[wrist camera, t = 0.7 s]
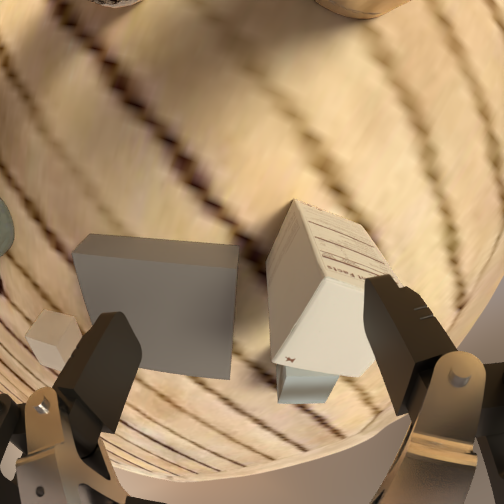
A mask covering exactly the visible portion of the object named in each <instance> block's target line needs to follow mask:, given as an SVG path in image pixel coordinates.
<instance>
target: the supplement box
mask: <svg viewBox="0 0 504 504" xmlns="http://www.w3.org/2000/svg"><path fill="white" fill-rule="evenodd" d="M265 263H266V277H267V293H268V311H269V329H270V349H271V362H272V363H276V364H280V365H284V366H289V367H293V368H299V369H304V370H310V371H316V372H323V373H329V374H335V375H343V376H349V377H360V376H361V375H362V374H363V373H364V372H365V371H366V370H367V369H368V368H369V367H370V366H371V364H372V363H373V362H374V361H375V360H376V359H375V356H374V354H373V351H372V349H371V346H370V344H369V341H368V339H367V336H366V334H365V330H364V323H363V310H364V284H365V279H366V278H369V277H374V276H379V275H385V274H390V275H391V276H392V278H393V279H394V281H395V282H396V283H397V285H398V286H399V288H401V287H404V286H403V285H402V283H401V282H400V280H399V279H398V277H397V276H396V274H395V273H394V271H393V270H392V268H391V267H390V265H389V264H388V262H387V261H386V259H385V258H384V256H383V255H382V253H381V252H380V250H379V249H378V248H377V246H376V245H375V243H374V242H373V240H372V239H371V238H370V236H369V235H368V233H367V232H366V231H365V229H364V228H363V227H362V225H360V224H357V223H355V222H353V221H350V220H348V219H345V218H343V217H340V216H338V215H335V214H333V213H331V212H328V211H326V210H323V209H320V208H318V207H315V206H313V205H310V204H307V203H305V202H302V201H300V200H297V199H294V200H293V202H292V204H291V206H290V208H289V211H288V213H287V215H286V217H285V219H284V222H283V224H282V226H281V228H280V231H279V233H278V235H277V237H276V240H275V242H274V244H273V246H272V249H271V251H270V253H269V255H268V258H267V260H266V262H265Z"/></svg>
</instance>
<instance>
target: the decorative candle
mask: <svg viewBox="0 0 504 504" xmlns="http://www.w3.org/2000/svg"><path fill="white" fill-rule="evenodd" d="M90 1H92V2H95V3H97V4H100V5H102V6H106V7H112V8H120V7H125V6H130V5H134V4H136V3H138V2H140V1H142V0H90Z"/></svg>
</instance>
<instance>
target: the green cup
mask: <svg viewBox="0 0 504 504" xmlns="http://www.w3.org/2000/svg"><path fill="white" fill-rule="evenodd" d="M13 240H14V226H13V221H12V218H11V215H10V212H9V210H8V208H7V206H6V205H5V203H4V202H3V200H2V199H1V198H0V256H2V255H3V254H4V253H5V252H6V251H7V250H8V249H9V248H10V247H11V245H12V243H13Z"/></svg>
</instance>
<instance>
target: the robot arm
mask: <svg viewBox="0 0 504 504" xmlns="http://www.w3.org/2000/svg"><path fill="white" fill-rule="evenodd" d="M315 1H316V2H317V3H319V4H320V5H322V6H323V7H325V8H326V9H329V10H331V11H333V12H335V13H337V14H340V15H343V16H346V17H351V18H357V19H370V18H375V17H379V16H381V15H383V14H385V13H387V12H389V11H391V10H393V9H395V8H397V7H399V6H401V5H403V4H405V3H407V2H409V1H411V0H315ZM363 323H364V330H365V334H366V336H367V339H368V341H369V344H370V346H371V349H372V351H373V354H374V356H375V359H376V361H377V364H378V367H379V369H380V372H381V374H382V377H383V380H384V382H385V385H386V388H387V390H388V393H389V396H390V399H391V402H392V404H393V407H394V410H395V413H396V416H399V415H403V414H406V413H409V415H410V418H411V424H410V426H409V428H408V430H407V433H406V435H405V438H404V440H403V442H402V444H401V447H400V449H399V451H398V453H397V455H396V457H395V460H394V461H393V463H392V465H391V467H390V469H389V471H388V473H387V475H386V477H385V479H384V480H383V482H382V484H381V485H380V487H379V489H378V490H377V492H376V494H375V495H374V497H373V498H372V500H371V502H370V503H369V504H464V501H465V499H466V496H467V494H468V491H469V488H470V485H471V482H472V479H473V476H474V473H475V469H476V466H477V454H476V453H473V443H474V440H475V437H476V438H477V441H478V444H479V446H480V450H481V453H482V456H483V459H484V462H485V465H486V469H487V472H488V476H489V479H490V483H491V487H492V490H493V495H494V499H495V503H496V504H504V362H502V363H493V364H482V362H481V361H480V360H479V359H478V358H477V357H476V356H474V355H472V354H470V353H467V352H463V351H458V350H457V349H456V347H455V346H454V344H453V343H452V341H451V340H450V338H449V336H448V335H447V333H446V332H445V330H444V329H443V328H442V326H441V325H440V323H439V322H438V320H437V319H436V317H434V316H433V313H432V312H431V310H430V309H429V307H428V308H427V305H426V303H425V302H424V301H423V299H422V298H421V296H420V295H419V294H418V293H416V292H414V291H413V290H411V289H410V288H408V287H407V286H406V287H401V288H399V286H398V285H397V283H396V282H395V281H394V279H393V278H392V276H391V275H390V274H385V275H379V276H374V277H369V278H366V279H365V284H364V310H363ZM141 360H142V349H141V345H140V343H139V341H138V339H137V337H136V335H135V334H134V332H133V330H132V328H131V326H130V324H129V322H128V320H127V318H126V316H125V315H124V313H122V312H120V311H119V312H107V313H101V314H100V315H99V317H98V318H97V320H96V321H95V323H94V324H93V326H92V328H91V329H90V330H89V331H88V332H87V333H86V334H85V335H83V336H82V338H81V339H80V341H79V343H78V344H77V346H76V349H74V351H73V352H72V354H71V357H69V359H68V361H67V362H66V364H65V366H64V368H63V369H62V371H61V373H60V374H59V376H58V378H57V380H56V381H55V383H54V385H53V387H52V388H51V387H43V388H40V389H38V390H36V391H35V392H34V393H33V394H32V395H31V396H30V397H29V399H28V400H27V402H26V403H23V404H16V403H15V402H14V401H13V400H12V399H11V397H10V396H9V395H8V394H0V463H1V460H2V458H3V455H4V453H5V450H6V448H7V446H8V443H9V441H11V442H12V443H13V444H14V445H15V446H16V447H17V448H18V449H20V450H21V451H22V452H23V454H22V456H21V458H18V459H17V461H16V473H15V476H14V479H13V480H12V481H10V480H8V479H7V478H5V477H4V476H3V474H2V473H1V470H0V504H166V503H161V502H155V501H150V500H144V499H140V498H135V497H131V496H130V495H129V494H128V493H127V492H126V491H125V490H124V489H123V488H122V486H121V484H120V483H119V481H118V479H117V476H116V474H115V471H114V469H113V466H112V464H111V461H110V459H109V456H108V454H107V451H106V448H105V445H104V443H103V441H102V439H101V438H99V436H100V433H101V432H106V433H111V434H115V431H116V428H117V425H118V422H119V419H120V416H121V413H122V411H123V408H124V405H125V402H126V400H127V397H128V394H129V391H130V389H131V386H132V383H133V381H134V378H135V376H136V373H137V370H138V368H139V365H140V363H141Z"/></svg>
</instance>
